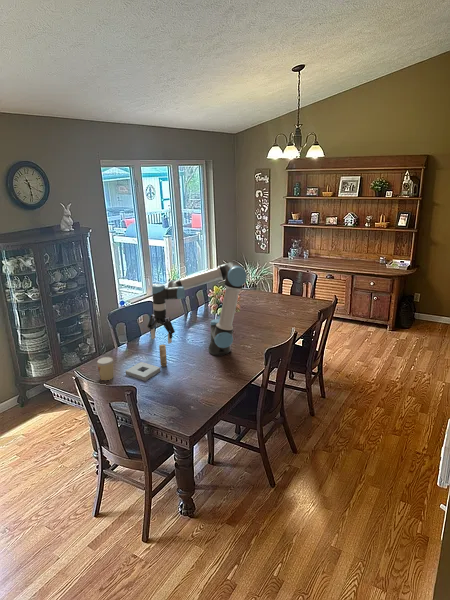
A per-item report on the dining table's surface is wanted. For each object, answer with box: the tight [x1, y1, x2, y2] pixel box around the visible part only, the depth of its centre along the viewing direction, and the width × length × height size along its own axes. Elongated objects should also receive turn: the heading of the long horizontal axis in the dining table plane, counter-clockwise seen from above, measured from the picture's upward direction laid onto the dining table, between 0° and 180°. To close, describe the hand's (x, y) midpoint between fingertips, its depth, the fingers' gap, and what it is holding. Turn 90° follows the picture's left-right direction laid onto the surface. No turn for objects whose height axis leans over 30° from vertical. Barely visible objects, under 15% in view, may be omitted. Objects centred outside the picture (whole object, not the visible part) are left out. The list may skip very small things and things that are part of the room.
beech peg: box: [158, 344, 168, 368], centre depth 260 cm, size 4×4×14 cm
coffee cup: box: [96, 356, 114, 381], centre depth 247 cm, size 9×9×12 cm
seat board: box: [125, 361, 161, 382], centre depth 253 cm, size 16×14×2 cm
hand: (161, 340), depth 257 cm, fingers open, 13 cm apart
